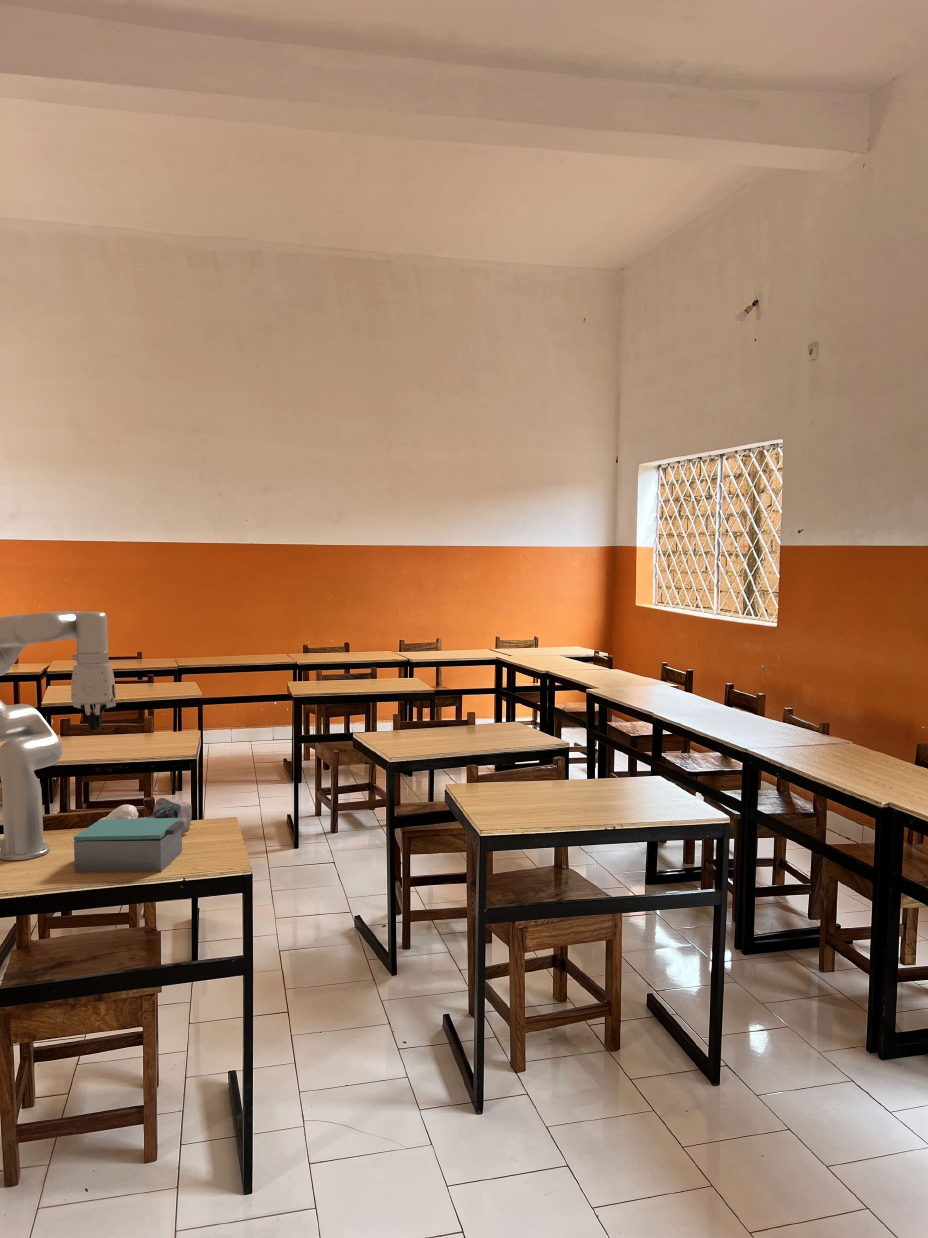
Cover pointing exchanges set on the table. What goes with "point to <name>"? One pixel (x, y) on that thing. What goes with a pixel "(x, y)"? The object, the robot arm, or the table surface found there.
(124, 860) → the grey storage box
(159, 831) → the lid
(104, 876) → the table surface
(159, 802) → the cell model
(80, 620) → the robot arm
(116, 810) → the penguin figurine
